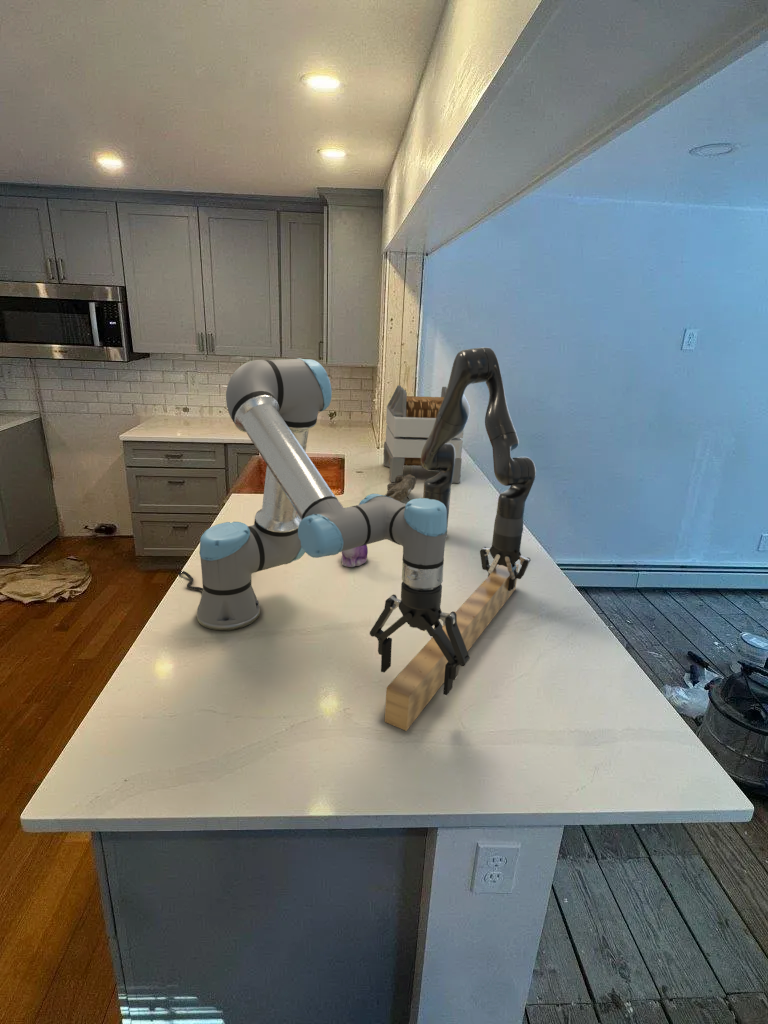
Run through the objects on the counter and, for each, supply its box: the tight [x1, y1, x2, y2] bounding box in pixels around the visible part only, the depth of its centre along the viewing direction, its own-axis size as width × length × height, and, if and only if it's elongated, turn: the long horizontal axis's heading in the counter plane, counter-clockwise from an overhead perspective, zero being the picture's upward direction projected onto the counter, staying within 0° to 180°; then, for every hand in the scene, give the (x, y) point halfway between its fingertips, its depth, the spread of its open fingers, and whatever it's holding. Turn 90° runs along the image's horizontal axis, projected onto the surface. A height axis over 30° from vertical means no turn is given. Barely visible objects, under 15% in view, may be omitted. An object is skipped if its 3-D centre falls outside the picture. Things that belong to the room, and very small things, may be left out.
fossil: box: [384, 473, 417, 502], centre depth 235 cm, size 22×10×15 cm
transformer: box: [383, 384, 465, 484], centre depth 268 cm, size 34×33×41 cm
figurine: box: [340, 544, 369, 568], centre depth 174 cm, size 9×10×15 cm
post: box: [384, 563, 520, 732], centre depth 135 cm, size 69×5×8 cm, turn 151°
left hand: (415, 679), depth 112 cm, fingers open, 13 cm apart
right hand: (500, 586), depth 157 cm, fingers closed on post, 4 cm apart
